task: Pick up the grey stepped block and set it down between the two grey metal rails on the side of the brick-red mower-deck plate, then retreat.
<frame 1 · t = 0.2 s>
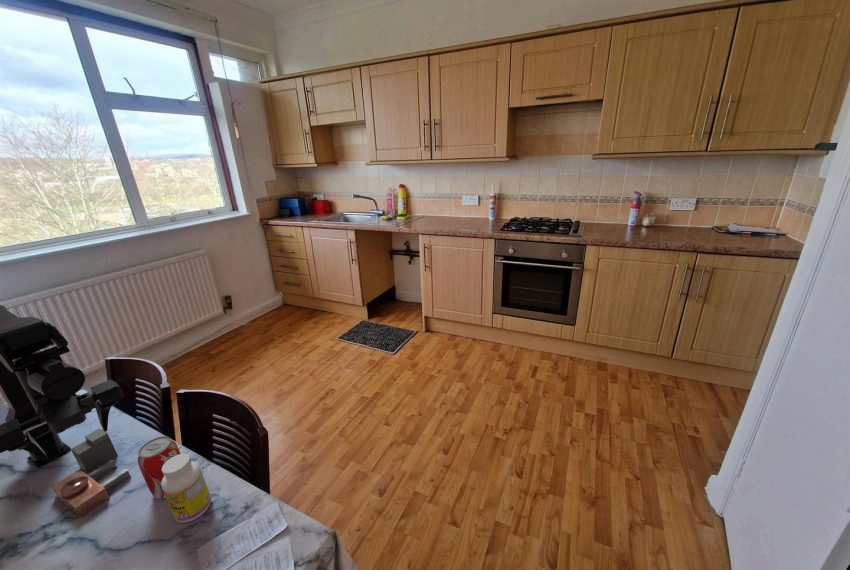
hand: (77, 444, 73), 14 cm above the table, fingers open, 9 cm apart
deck: (83, 497, 77), on the table
supplement bottle: (194, 509, 73), on the table
grey stepped block: (99, 461, 86), on the table
soda can: (172, 488, 78), on the table
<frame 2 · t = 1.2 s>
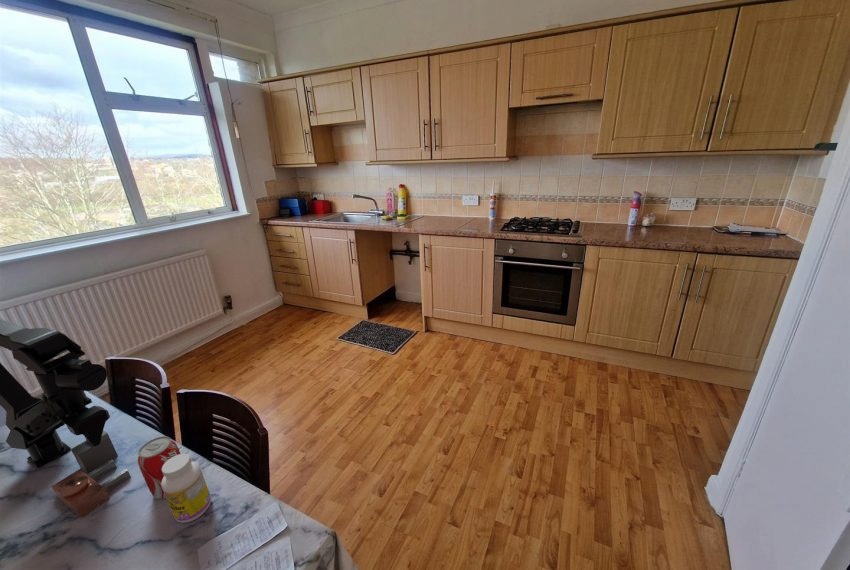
hand: (87, 439, 84), 7 cm above the table, fingers open, 9 cm apart
nothing on the table moved.
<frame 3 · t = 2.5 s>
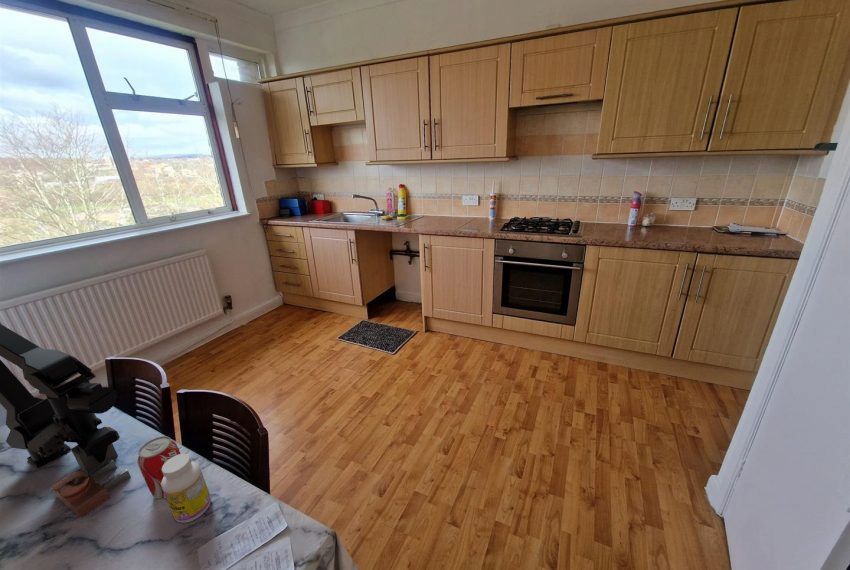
hand: (97, 458, 86), 1 cm above the table, fingers closed on grey stepped block, 4 cm apart
grey stepped block: (99, 461, 86), on the table, touching gripper
everything else where it was.
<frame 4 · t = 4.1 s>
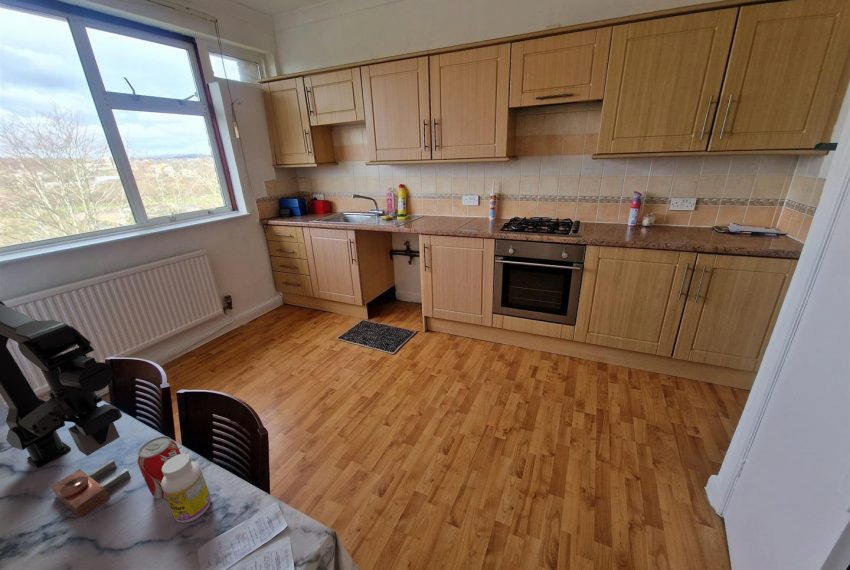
hand: (97, 440, 78), 11 cm above the table, fingers closed on grey stepped block, 4 cm apart
grey stepped block: (99, 443, 79), point 10 cm above the table, touching gripper
everything else where it was.
when the fingers open (3 cm above the table, at t = 5.7 s): grey stepped block drops 2 cm, on the table.
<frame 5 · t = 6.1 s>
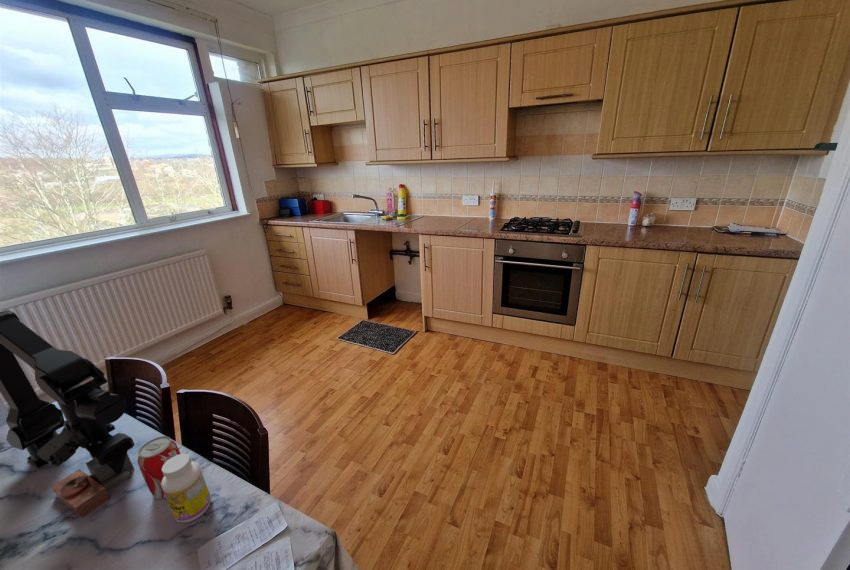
hand: (110, 466, 81), 3 cm above the table, fingers open, 8 cm apart
grey stepped block: (115, 475, 82), on the table
everything else where it was.
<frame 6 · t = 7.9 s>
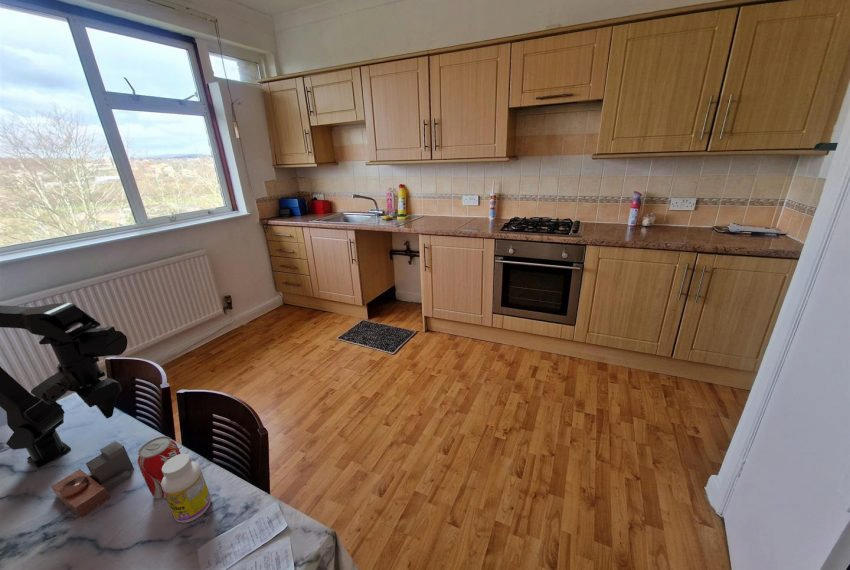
hand: (100, 411, 86), 12 cm above the table, fingers open, 9 cm apart
nothing on the table moved.
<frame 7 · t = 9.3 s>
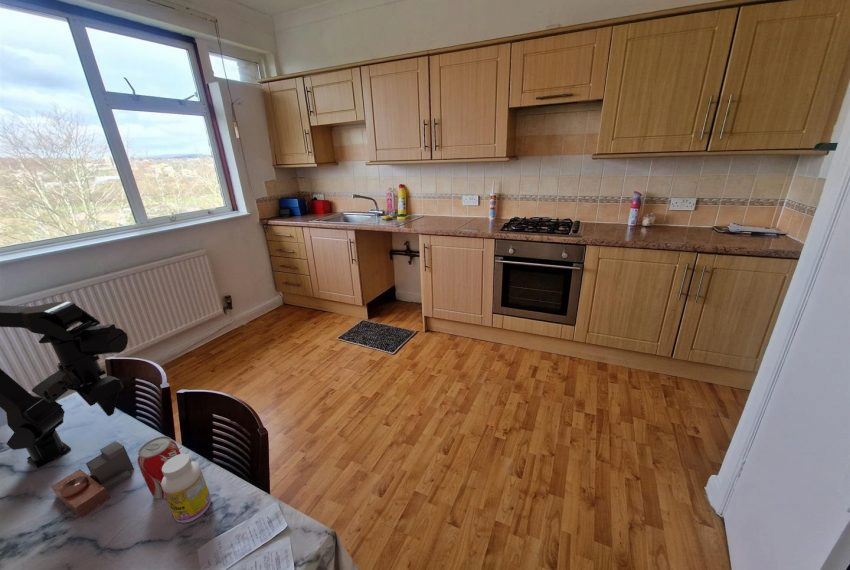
hand: (101, 409, 86), 12 cm above the table, fingers open, 9 cm apart
nothing on the table moved.
at the end: grey stepped block 0.3 cm from the target spot on the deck, point 0.0 cm above the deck's base; grey stepped block tilted 0°; the gripper is holding nothing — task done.
